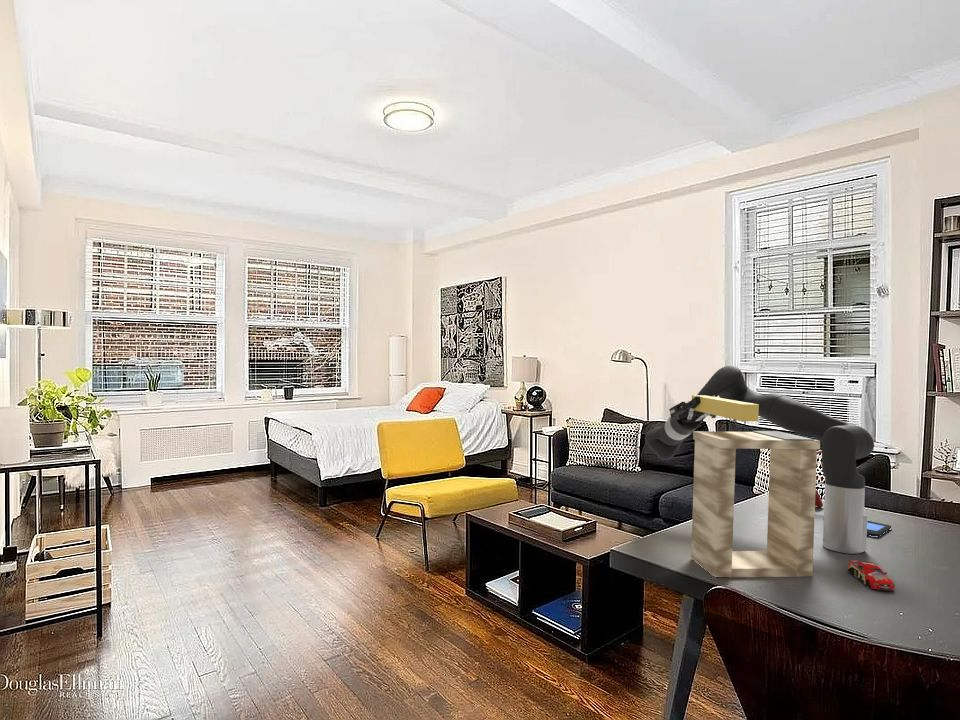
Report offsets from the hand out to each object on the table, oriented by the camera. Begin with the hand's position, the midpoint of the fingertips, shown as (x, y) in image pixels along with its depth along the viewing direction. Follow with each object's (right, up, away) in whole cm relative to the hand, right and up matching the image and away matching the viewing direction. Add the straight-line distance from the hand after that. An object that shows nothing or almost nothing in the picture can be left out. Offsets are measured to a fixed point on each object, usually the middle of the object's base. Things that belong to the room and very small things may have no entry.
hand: (707, 399), depth 162 cm
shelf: (+4, -40, -17) cm, 43 cm away
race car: (+29, -41, -24) cm, 55 cm away
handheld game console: (+54, -41, +20) cm, 70 cm away
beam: (+1, -4, -8) cm, 9 cm away
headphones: (+57, -40, +42) cm, 81 cm away
